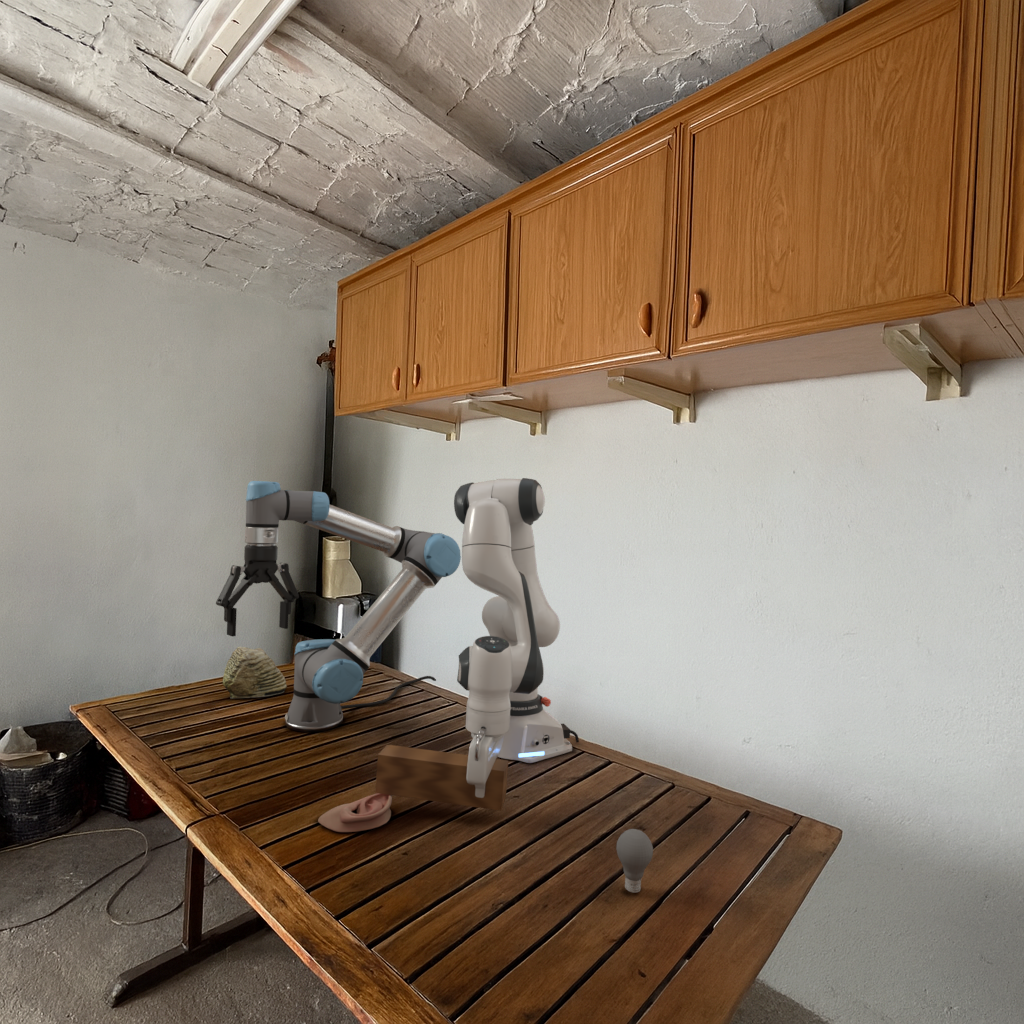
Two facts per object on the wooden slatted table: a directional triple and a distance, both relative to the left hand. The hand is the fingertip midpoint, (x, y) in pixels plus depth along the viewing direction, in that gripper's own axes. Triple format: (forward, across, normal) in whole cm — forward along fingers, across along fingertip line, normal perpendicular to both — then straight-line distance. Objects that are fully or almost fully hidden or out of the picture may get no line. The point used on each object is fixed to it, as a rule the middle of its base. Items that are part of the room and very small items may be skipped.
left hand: (258, 631), depth 154 cm
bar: (+26, +10, -54) cm, 61 cm away
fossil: (+30, +23, +41) cm, 55 cm away
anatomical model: (+30, -3, -44) cm, 53 cm away
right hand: (+23, +14, -62) cm, 68 cm away
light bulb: (+30, +14, -96) cm, 101 cm away
